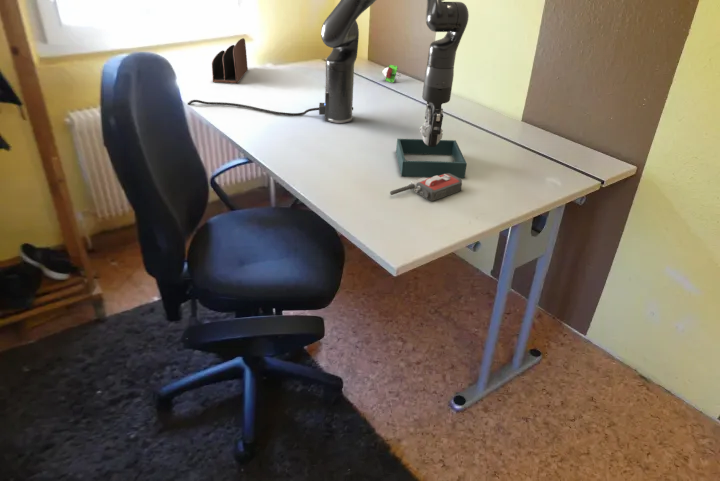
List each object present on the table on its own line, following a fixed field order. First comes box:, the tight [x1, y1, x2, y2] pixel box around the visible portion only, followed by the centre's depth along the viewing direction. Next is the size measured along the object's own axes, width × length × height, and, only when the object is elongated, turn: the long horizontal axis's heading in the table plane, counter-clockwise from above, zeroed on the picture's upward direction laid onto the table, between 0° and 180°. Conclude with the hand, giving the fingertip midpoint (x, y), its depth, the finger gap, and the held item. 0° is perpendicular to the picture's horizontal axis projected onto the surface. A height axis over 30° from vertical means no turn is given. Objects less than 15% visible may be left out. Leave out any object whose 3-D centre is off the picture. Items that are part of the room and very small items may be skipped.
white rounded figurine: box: [419, 121, 444, 145], centre depth 153 cm, size 6×7×7 cm
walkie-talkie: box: [389, 173, 463, 202], centre depth 142 cm, size 9×4×20 cm
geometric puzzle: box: [381, 64, 401, 84], centre depth 227 cm, size 7×7×8 cm
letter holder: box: [211, 37, 248, 84], centre depth 220 cm, size 10×20×14 cm, turn 179°
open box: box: [395, 138, 468, 179], centre depth 157 cm, size 18×17×4 cm
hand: (430, 141), depth 155 cm, fingers closed on white rounded figurine, 6 cm apart
